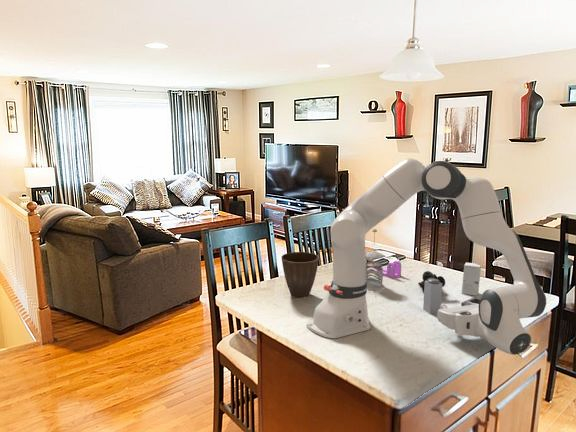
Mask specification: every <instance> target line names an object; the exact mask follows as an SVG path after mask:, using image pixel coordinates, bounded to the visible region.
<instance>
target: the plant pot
mask: <svg viewBox="0 0 576 432" xmlns="http://www.w3.org/2000/svg"><path fill="white" fill-rule="evenodd" d="M319 259H320V257H319V255H318V254H315V253H312V252H308V251H297V252H296V251H294V252H287V253H285V254H282V255H281V263H282V269H283V275H284V278H285V282H286V286H287V288H288V291H289V293H290V297H293V298H297V299H305V298H308V297H309V296H310V294H311V291H312V288H313V286H314V283H315V279H316V277H317V276H316V275H317V271H318V266H319ZM304 297H305V298H304Z"/></svg>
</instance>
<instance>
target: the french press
mask: <svg viewBox="0 0 576 432" xmlns="http://www.w3.org/2000/svg"><path fill="white" fill-rule="evenodd" d="M371 230H372V231H371V232H372V233H374V234H373V235H374V237H373V244H375V237H376V233H377V232H378V230H377V229H376V228H372V229H371ZM365 254H366V258H368V259H373V261H368V262H366V283H367V291H380V290H381V291H382V290H384V289H385V287H386V286H385V285H384V284H383V277H384V276H383V269H384V268H383V267H382V266H383V264H382V263H380V262H378V261H375V260H376V259H377V260H379V259H382V258H384V257H385V256H384V254H383V253H382V252H379V251H375V250H372V251H368V252H365ZM374 269H376V270H378V271H375V270H374Z"/></svg>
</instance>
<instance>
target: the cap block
mask: <svg viewBox="0 0 576 432" xmlns="http://www.w3.org/2000/svg"><path fill="white" fill-rule="evenodd" d="M442 295H443V287H442V283H440V282H439V280H438V279H428V281H425V285H424V291H423V305H422V308H423V311H425V312H426V313H428V314H429V315H431V314H432V315H433V314H438V310H439V309H440V305H442V298H443V297H442Z"/></svg>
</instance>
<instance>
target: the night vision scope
mask: <svg viewBox="0 0 576 432" xmlns="http://www.w3.org/2000/svg"><path fill="white" fill-rule="evenodd" d="M428 279H438V280H439V282H440V283H442V288H443V287H445V286H446V279H445V278H444V277H443V275H439V276H437V275H436V274H435V273H433V272H431V271H429V270H427V271H424V272H423V274H422V281H421V282H420V281H419V282H418V283H417V284H418V285H419V288H420V289H422V291H423V292H424V285H425V281H428Z"/></svg>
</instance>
